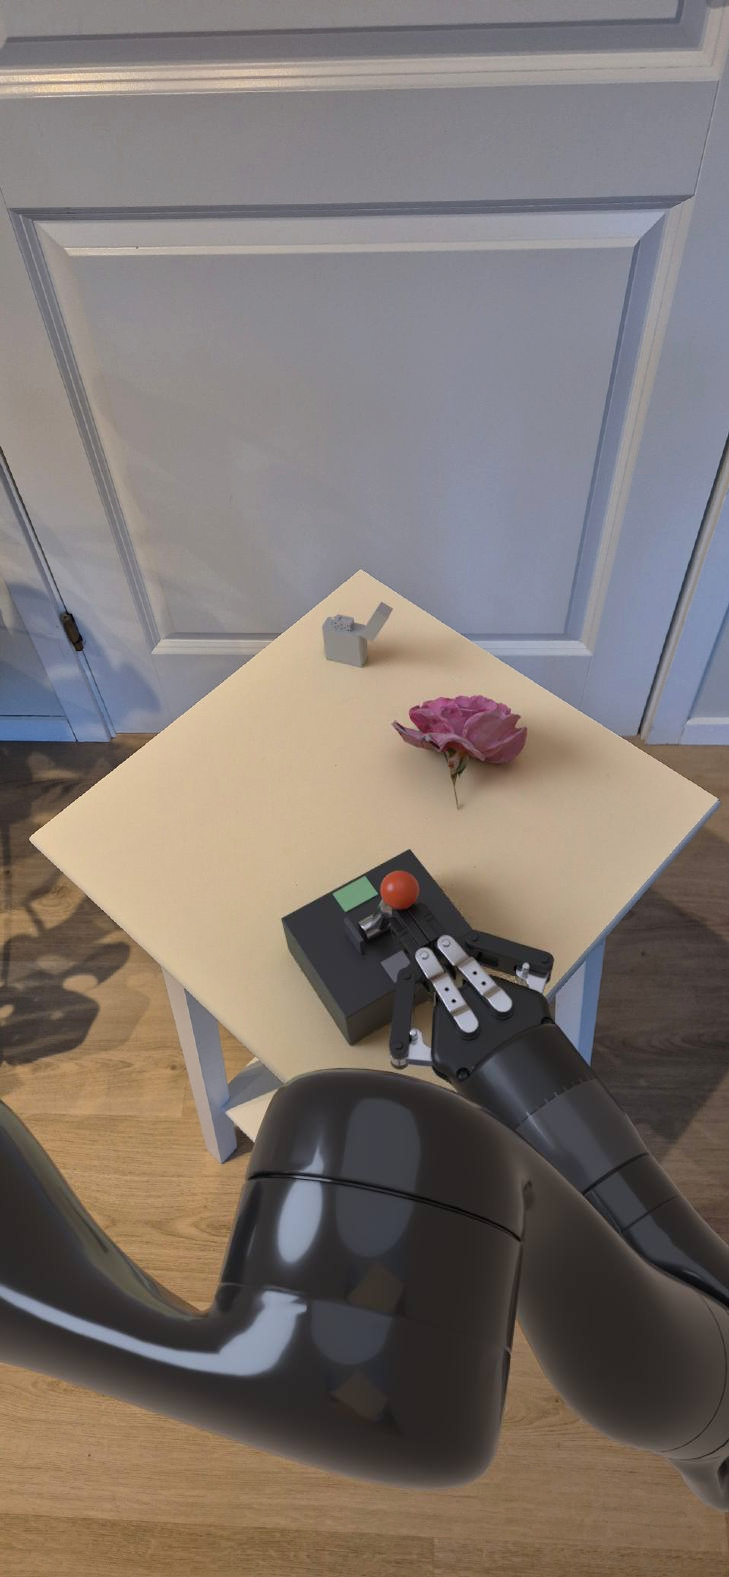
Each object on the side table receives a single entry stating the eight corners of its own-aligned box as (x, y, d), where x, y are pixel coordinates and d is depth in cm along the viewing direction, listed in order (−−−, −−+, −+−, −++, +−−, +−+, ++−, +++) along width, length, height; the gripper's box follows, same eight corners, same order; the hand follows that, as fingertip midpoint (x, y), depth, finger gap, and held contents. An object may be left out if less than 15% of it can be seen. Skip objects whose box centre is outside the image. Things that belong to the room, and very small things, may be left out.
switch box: (350, 1046, 77) (343, 1006, 71) (287, 948, 82) (277, 904, 76) (478, 969, 80) (482, 926, 74) (410, 880, 85) (409, 834, 80)
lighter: (324, 658, 102) (317, 599, 96) (331, 647, 103) (324, 587, 97) (389, 674, 100) (387, 614, 94) (395, 662, 101) (393, 603, 95)
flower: (422, 741, 99) (468, 655, 95) (498, 801, 95) (551, 713, 91) (355, 755, 90) (403, 660, 85) (437, 822, 86) (491, 726, 81)
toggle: (369, 948, 76) (393, 912, 65) (352, 919, 77) (373, 878, 66) (402, 930, 77) (432, 891, 66) (385, 901, 78) (411, 857, 67)
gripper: (651, 1041, 58) (482, 835, 68) (463, 1162, 55) (311, 927, 64) (631, 1088, 64) (478, 893, 74) (460, 1200, 61) (321, 980, 70)
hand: (400, 909), depth 69 cm, fingers closed
